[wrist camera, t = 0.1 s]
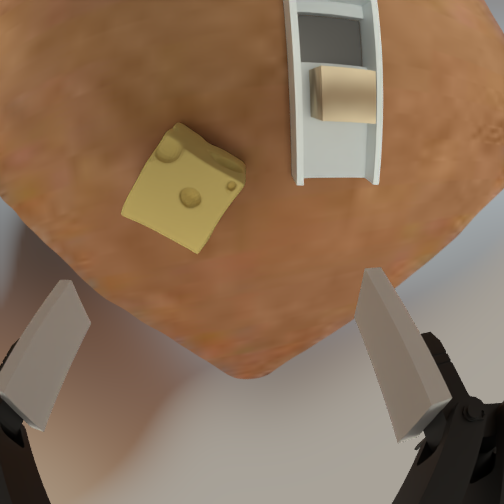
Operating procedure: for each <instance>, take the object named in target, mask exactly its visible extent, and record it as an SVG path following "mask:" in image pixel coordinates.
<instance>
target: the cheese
mask: <svg viewBox="0 0 504 504" xmlns="http://www.w3.org/2000/svg"><path fill="white" fill-rule="evenodd" d="M245 175H246V167H245V163H244V162H243V161H241V160H240V159H238V158H236V157H235V156H233V155H231V154H230V153H228V152H226V151H225V150H223V149H221V148H219V147H216V146H213V145H211V144H209V143H208V142H207V141H205V140H204V139H203V137H201V136H200V135H199V134H197V133H195V132H194V131H192V130H191V129H190V128H188V127H187V126H185V125H184V124H182V123H176V124H175V125H174V127H173V128H172V129H170V130H168V131H167V132H166V133H165V135H164V136H163V138H162V140H161V141H160V143H159V145H158V146H157V147H156V149H155V150H154V152H153V153H152V155H151V156H150V158H149V159H148V161H147V162H146V164H145V166H144V168H143V169H142V171H141V173H140V175H139V177H138V179H137V180H136V182H135V184H134V186H133V188H132V189H131V191H130V193H129V195H128V197H127V199H126V201H125V203H124V206H123V208H122V211H121V215H123V216H124V217H127V218H129V219H131V220H133V221H136V222H138V223H140V224H143V225H145V226H147V227H149V228H151V229H153V230H155V231H156V232H158V233H160V234H162V235H164V236H166V237H168V238H169V239H171V240H173V241H175V242H177V243H179V244H180V245H182V246H184V247H186V248H188V249H189V250H191V251H193V252H194V253H196V254H198V253H199V252H200V251H201V249H202V248H203V247H204V246H205V244H206V243H207V241H208V240H209V238H210V236H211V234H212V232H213V230H214V228H215V226H216V225H217V223H218V221H219V220H220V218H221V217H222V215H223V214H224V212H225V211H226V209H227V208H228V207H229V205H230V204H231V203H232V201H233V200H234V199H235V197H236V196H237V195H238V193H239V192H240V191H241V190H242V188H243V187H244V185H245V181H246V176H245Z"/></svg>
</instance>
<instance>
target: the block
mask: <svg viewBox="0 0 504 504" xmlns="http://www.w3.org/2000/svg"><path fill="white" fill-rule="evenodd" d="M309 82H310V113H311V117H313V118H316V119H318V120H321V121H335V122H356V123H370V124H376V71H372V70H364V69H356V68H346V67H334V66H319V67H316V68H313V69H310V70H309Z"/></svg>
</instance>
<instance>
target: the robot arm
mask: <svg viewBox="0 0 504 504" xmlns="http://www.w3.org/2000/svg"><path fill="white" fill-rule="evenodd" d="M354 318H355V320H356V323H357V325H358V328H359V330H360V333H361V335H362V338H363V341H364V343H365V346H366V349H367V351H368V354H369V357H370V360H371V362H372V365H373V368H374V371H375V373H376V376H377V379H378V382H379V385H380V388H381V391H382V394H383V397H384V400H385V403H386V406H387V409H388V412H389V415H390V419H391V422H392V425H393V428H394V432H395V435H396V438H397V442H398V443H400V442H404V441H407V440H410V439H413V438H416V437H417V436H418V435H419V434H420V433H421V432H422V431H424V434H425V436H426V437H425V438H424V439H423V440H422V441H421V442H420V443H419V444H418V445H417V446H416V448H415V450H418V449H419V448H420V449H419V452H418V454H417V456H416V458H415V460H414V463H413V465H412V467H411V469H410V471H409V473H408V475H407V477H406V479H405V481H404V483H403V485H402V487H401V488H400V490H399V492H398V494H397V496H396V497H395V499H394V501H393V503H392V504H504V401H503V402H502V403H495V404H483V402H482V401H481V400H480V399H478V398H476V397H472V396H469V394H468V393H467V391H466V389H465V387H464V385H463V383H462V381H461V379H460V377H459V375H458V373H457V371H456V369H455V367H454V365H453V363H452V362H450V358H449V356H448V354H446V350H445V349H444V347H443V345H442V343H441V342H440V340H439V339H438V338H436V337H435V336H434V335H433V334H432V333H431V332H428V333H423V334H420V332H419V330H418V329H417V327H416V325H415V323H414V322H413V320H412V318H411V316H410V315H409V313H408V311H407V309H406V308H405V306H404V304H403V303H402V301H401V299H400V298H399V296H398V295H397V293H396V291H395V289H394V288H393V286H392V284H391V283H390V281H389V280H388V278H387V276H386V275H385V273H384V272H383V270H382V269H381V267H380V268H366V269H365V270H364V275H363V280H362V285H361V289H360V294H359V299H358V303H357V307H356V312H355V316H354ZM90 324H91V322H90V320H89V318H88V316H87V314H86V312H85V310H84V307H83V305H82V303H81V301H80V299H79V297H78V294H77V292H76V290H75V287H74V285H73V283H72V281H71V280H60V281H59V282H58V283H57V285H56V286H55V287H54V289H53V290H52V291H51V293H50V294H49V295H48V297H47V298H46V300H45V301H44V303H43V304H42V305H41V307H40V308H39V310H38V311H37V313H36V314H35V316H34V317H33V319H32V320H31V322H30V323H29V325H28V326H27V328H26V329H25V331H24V332H23V334H22V336H21V337H20V338H19V339H18V340H17V341H16V342H15V343H14V344H13V345H12V346H11V348H10V350H9V351H8V353H7V356H6V357H5V358H4V360H3V363H2V364H1V365H0V504H51V503H50V501H49V498H48V496H47V494H46V491H45V489H44V486H43V483H42V481H41V478H40V475H39V473H38V470H37V467H36V464H35V461H34V457H33V454H32V451H31V448H30V444H29V440H28V436H27V432H26V429H25V427H24V426H23V425H22V422H23V420H24V421H25V422H26V423H28V424H29V425H30V426H31V427H32V428H35V429H38V430H40V431H44V430H45V427H46V424H47V421H48V419H49V416H50V413H51V411H52V408H53V405H54V403H55V401H56V398H57V396H58V393H59V391H60V389H61V386H62V384H63V382H64V379H65V377H66V375H67V372H68V370H69V368H70V365H71V364H72V361H73V359H74V357H75V355H76V353H77V351H78V349H79V347H80V344H81V342H82V340H83V338H84V336H85V334H86V332H87V330H88V328H89V326H90Z"/></svg>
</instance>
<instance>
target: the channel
mask: <svg viewBox="0 0 504 504" xmlns="http://www.w3.org/2000/svg"><path fill="white" fill-rule="evenodd" d="M283 4H284V16H285V29H286V44H287V60H288V78H289V99H290V127H291V171H292V177H293V179H294V181H295V183H296V185H304V178H333V177H358V178H366V179H367V180H368V181H369V182H371V183H372V184H373V185H379V176H380V164H381V149H382V128H383V67H382V47H381V34H380V23H379V13H378V5H377V0H283ZM306 15H310V16H306ZM320 16H323V17H320ZM331 17H333V18H331ZM340 18H342V19H340ZM347 19H349V20H347ZM354 20H356V21H354ZM359 23H360V25H359ZM360 35H361V37H360ZM361 50H362V52H361ZM319 66H334V67H346V68H356V69H364V70H372V71H376V124H370V123H356V122H335V121H321V120H318V119H316V118H313V117H311V113H310V82H309V70H310V69H313V68H316V67H319Z"/></svg>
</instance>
